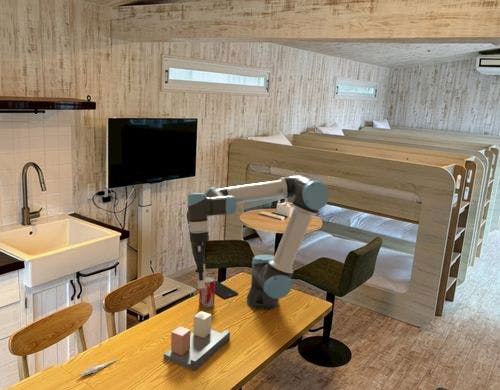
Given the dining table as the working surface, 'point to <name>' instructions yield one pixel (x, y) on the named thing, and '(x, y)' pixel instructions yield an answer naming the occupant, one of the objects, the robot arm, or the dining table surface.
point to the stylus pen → (96, 368)
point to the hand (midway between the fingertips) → (202, 283)
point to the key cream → (202, 324)
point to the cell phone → (224, 291)
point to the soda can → (207, 293)
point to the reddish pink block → (180, 340)
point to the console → (199, 350)
